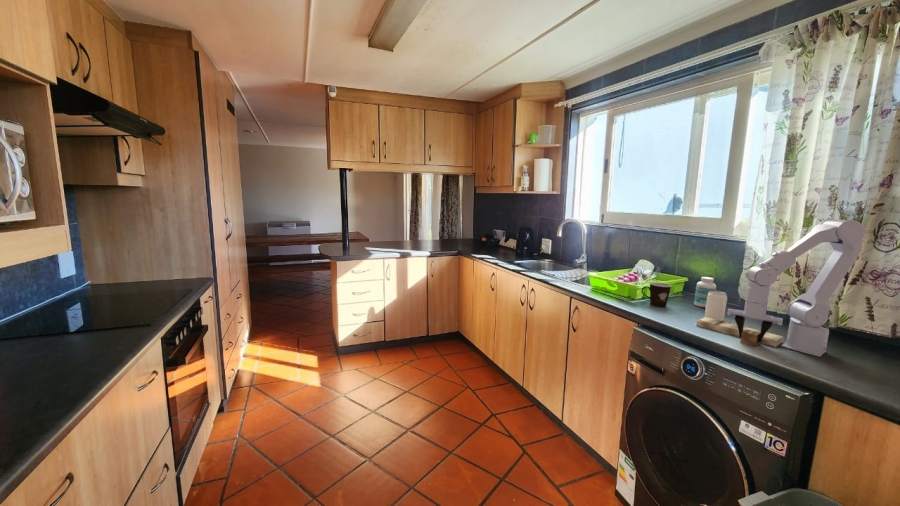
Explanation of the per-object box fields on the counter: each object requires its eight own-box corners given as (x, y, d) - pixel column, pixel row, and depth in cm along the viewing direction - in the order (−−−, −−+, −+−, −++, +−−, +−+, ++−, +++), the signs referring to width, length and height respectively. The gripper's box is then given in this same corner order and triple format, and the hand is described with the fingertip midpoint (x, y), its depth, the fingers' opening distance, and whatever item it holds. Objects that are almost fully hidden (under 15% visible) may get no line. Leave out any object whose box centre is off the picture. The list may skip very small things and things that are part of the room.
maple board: (782, 342, 127) (783, 336, 127) (775, 347, 123) (776, 340, 122) (705, 321, 146) (705, 316, 146) (696, 325, 142) (697, 320, 142)
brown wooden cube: (759, 343, 125) (761, 332, 125) (754, 346, 122) (756, 335, 122) (744, 339, 128) (746, 328, 128) (740, 342, 125) (741, 331, 125)
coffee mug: (669, 304, 169) (671, 284, 167) (668, 309, 162) (671, 287, 160) (641, 300, 175) (643, 280, 174) (639, 304, 168) (641, 284, 166)
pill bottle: (690, 304, 171) (693, 276, 169) (701, 303, 173) (705, 275, 171) (705, 308, 164) (709, 280, 162) (717, 307, 166) (721, 279, 164)
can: (726, 323, 145) (731, 294, 143) (708, 321, 146) (713, 293, 145) (718, 318, 151) (722, 290, 150) (701, 316, 153) (705, 289, 151)
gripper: (785, 304, 121) (779, 342, 123) (731, 295, 131) (726, 330, 133) (784, 308, 116) (777, 348, 118) (728, 298, 126) (723, 335, 128)
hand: (750, 339), depth 125 cm, fingers closed on brown wooden cube, 4 cm apart
